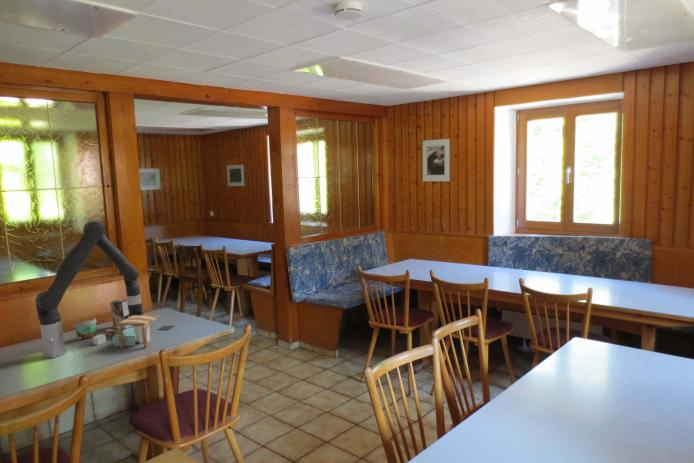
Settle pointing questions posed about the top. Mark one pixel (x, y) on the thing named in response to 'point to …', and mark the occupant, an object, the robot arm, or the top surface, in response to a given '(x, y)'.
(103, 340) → the grey block
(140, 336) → the dixie cup
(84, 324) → the food container
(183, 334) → the top surface
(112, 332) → the walnut stick
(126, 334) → the crook
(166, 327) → the dark grey flat slab
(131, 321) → the light wood legged piece
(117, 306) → the coffee box
